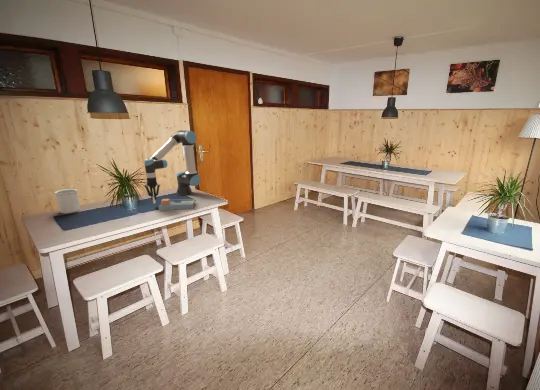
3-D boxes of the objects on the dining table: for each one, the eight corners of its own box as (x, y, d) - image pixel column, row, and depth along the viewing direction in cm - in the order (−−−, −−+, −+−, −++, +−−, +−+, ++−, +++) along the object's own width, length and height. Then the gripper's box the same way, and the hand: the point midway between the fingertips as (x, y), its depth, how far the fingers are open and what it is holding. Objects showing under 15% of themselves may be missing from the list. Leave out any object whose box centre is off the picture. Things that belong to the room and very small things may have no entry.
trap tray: (163, 204, 240) (163, 199, 239) (195, 203, 243) (194, 198, 242) (158, 209, 224) (158, 205, 223) (192, 208, 228) (191, 204, 227)
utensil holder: (71, 207, 230) (67, 188, 225) (85, 208, 227) (81, 189, 222) (55, 213, 216) (50, 192, 211) (69, 214, 213) (65, 193, 209)
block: (163, 203, 234) (162, 198, 233) (170, 202, 235) (169, 198, 234) (161, 205, 229) (160, 200, 228) (168, 205, 229) (167, 200, 228)
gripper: (141, 178, 219) (145, 204, 226) (157, 177, 221) (161, 204, 228) (144, 176, 227) (148, 202, 233) (160, 176, 228) (163, 201, 235)
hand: (154, 203), depth 230 cm, fingers closed
